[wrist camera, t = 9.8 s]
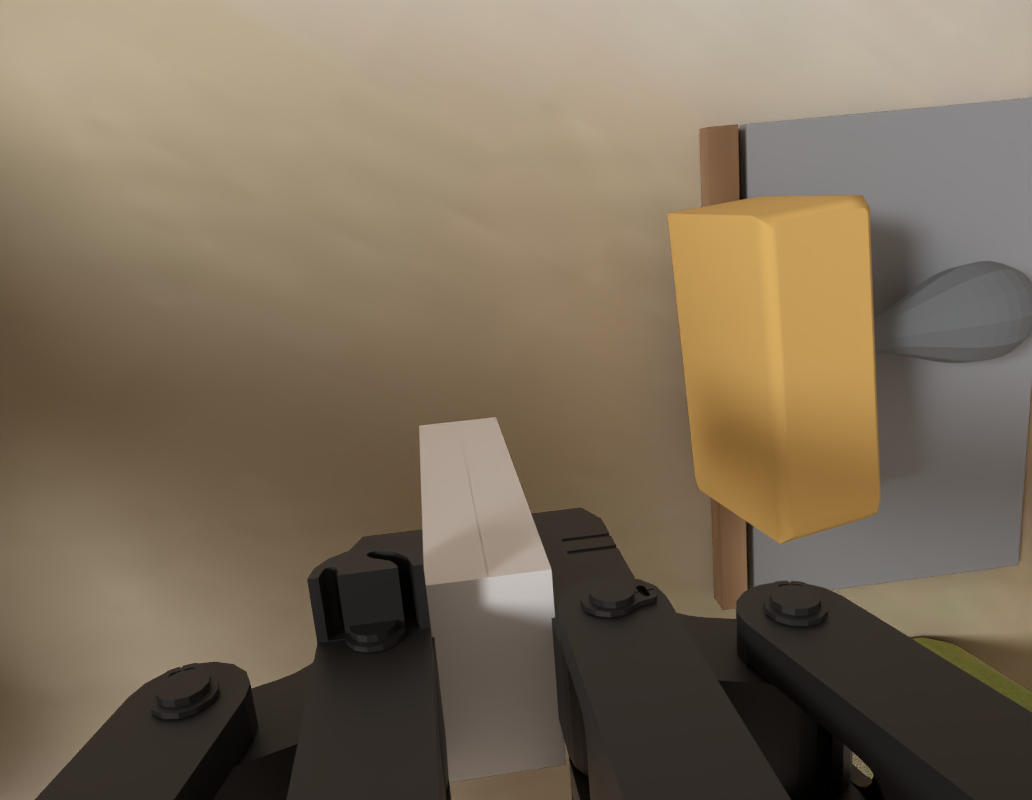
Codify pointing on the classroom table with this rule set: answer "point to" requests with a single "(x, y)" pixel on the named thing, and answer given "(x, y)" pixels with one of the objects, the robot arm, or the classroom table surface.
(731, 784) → the robot arm
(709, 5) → the classroom table surface
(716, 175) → the rail
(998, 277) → the rubber stamp
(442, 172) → the classroom table surface
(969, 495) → the mat
